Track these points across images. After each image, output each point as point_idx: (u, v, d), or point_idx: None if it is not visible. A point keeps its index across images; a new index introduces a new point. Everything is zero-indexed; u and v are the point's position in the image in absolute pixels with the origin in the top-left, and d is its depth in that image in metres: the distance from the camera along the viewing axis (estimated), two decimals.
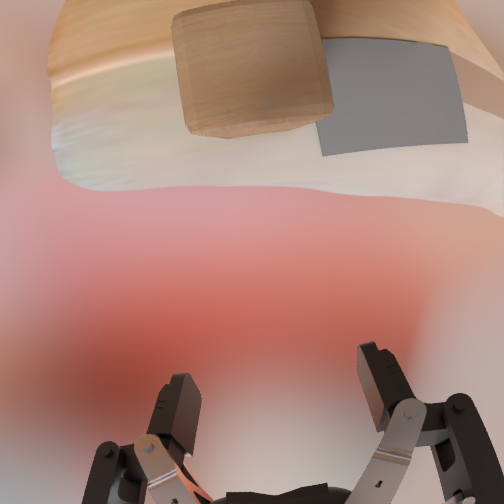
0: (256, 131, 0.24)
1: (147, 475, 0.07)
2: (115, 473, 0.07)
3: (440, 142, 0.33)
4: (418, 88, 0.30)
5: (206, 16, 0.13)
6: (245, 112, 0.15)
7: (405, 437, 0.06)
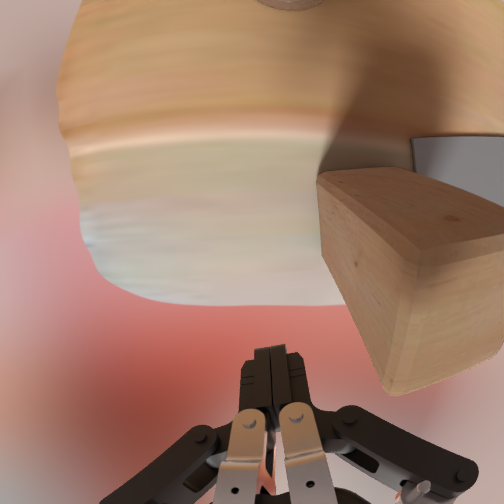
0: None
1: (229, 450, 0.07)
2: (194, 463, 0.07)
3: None
4: None
5: (462, 269, 0.09)
6: (444, 377, 0.12)
7: (305, 438, 0.07)
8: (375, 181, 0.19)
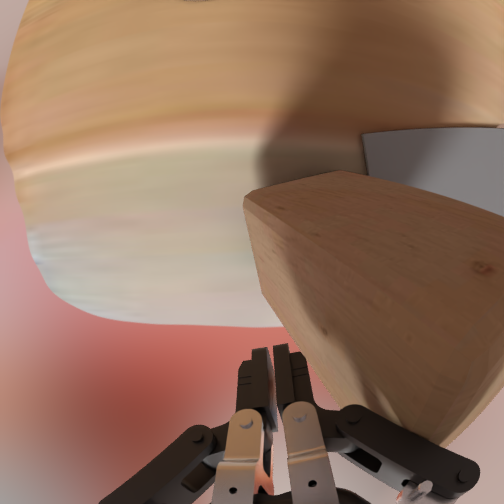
0: None
1: (226, 450, 0.07)
2: (192, 462, 0.07)
3: None
4: (491, 194, 0.23)
5: None
6: (456, 437, 0.08)
7: (308, 437, 0.07)
8: (330, 201, 0.15)
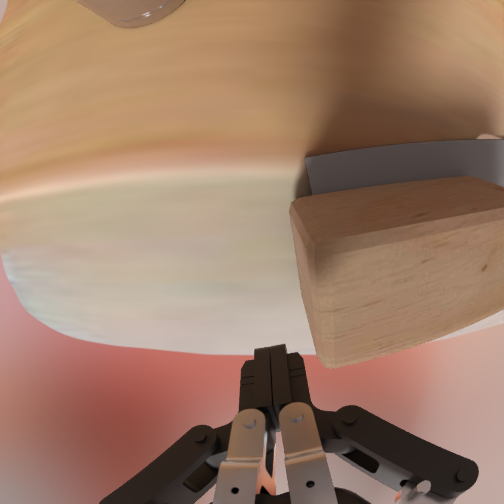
0: None
1: (229, 450, 0.07)
2: (194, 463, 0.07)
3: None
4: None
5: None
6: None
7: (305, 437, 0.07)
8: (416, 200, 0.15)
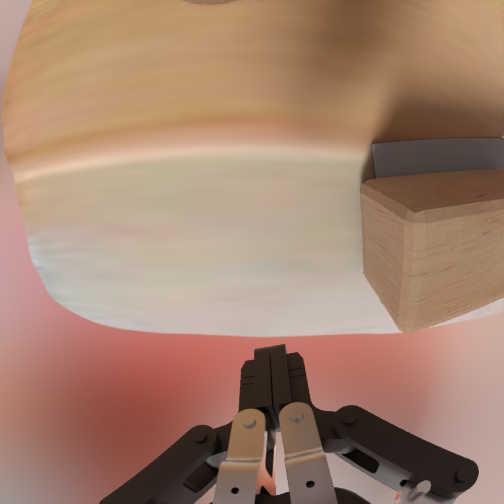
0: None
1: (229, 450, 0.07)
2: (194, 463, 0.07)
3: None
4: None
5: None
6: None
7: (305, 437, 0.07)
8: (470, 185, 0.16)
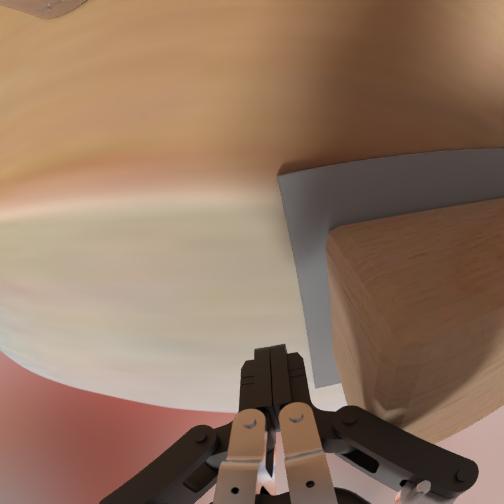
0: None
1: (229, 450, 0.07)
2: (194, 463, 0.07)
3: None
4: None
5: None
6: None
7: (305, 438, 0.07)
8: None
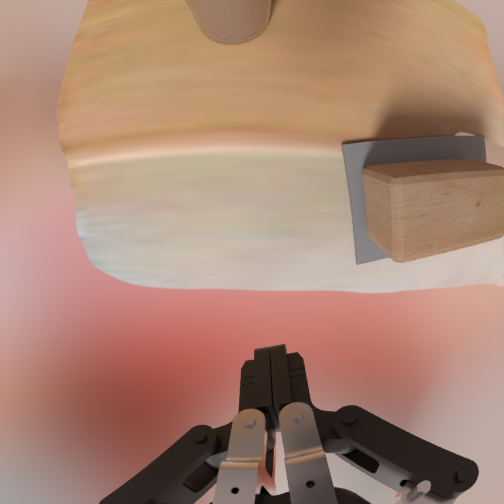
0: None
1: (229, 450, 0.07)
2: (194, 463, 0.07)
3: None
4: None
5: None
6: None
7: (305, 437, 0.07)
8: (436, 166, 0.26)
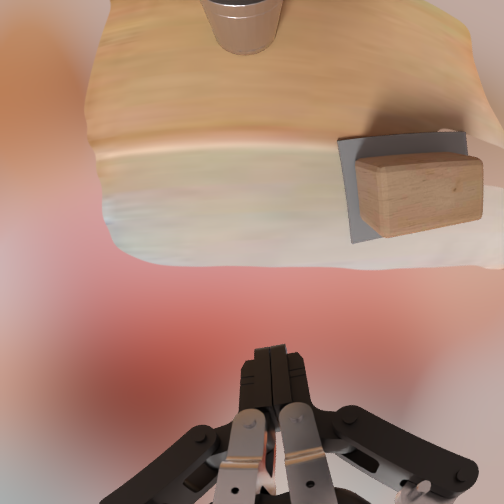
0: None
1: (229, 450, 0.07)
2: (194, 463, 0.07)
3: None
4: None
5: None
6: None
7: (305, 438, 0.07)
8: (417, 158, 0.32)
